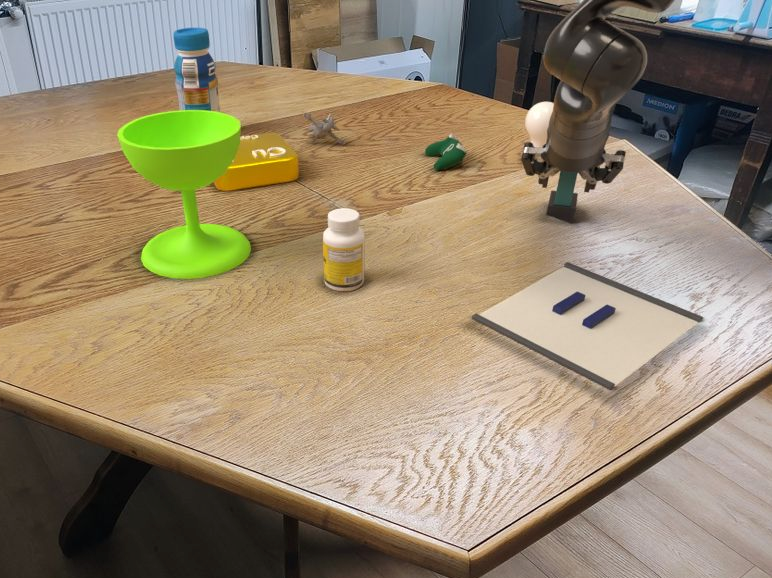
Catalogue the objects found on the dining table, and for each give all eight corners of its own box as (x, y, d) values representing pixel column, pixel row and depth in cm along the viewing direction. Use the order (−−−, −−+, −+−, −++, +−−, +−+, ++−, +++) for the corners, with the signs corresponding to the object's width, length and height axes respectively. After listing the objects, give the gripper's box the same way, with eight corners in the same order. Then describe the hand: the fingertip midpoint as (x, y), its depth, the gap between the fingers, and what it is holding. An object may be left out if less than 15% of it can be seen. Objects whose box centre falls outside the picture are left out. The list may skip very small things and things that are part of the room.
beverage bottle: (174, 134, 143) (159, 31, 131) (207, 125, 147) (196, 24, 135) (197, 144, 137) (184, 37, 126) (231, 134, 142) (221, 29, 130)
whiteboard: (565, 272, 92) (567, 261, 91) (699, 328, 80) (703, 316, 79) (470, 326, 82) (471, 315, 81) (607, 399, 70) (611, 387, 69)
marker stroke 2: (605, 309, 82) (606, 303, 81) (614, 313, 81) (616, 307, 81) (581, 325, 79) (583, 319, 79) (590, 329, 79) (592, 323, 78)
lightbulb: (553, 159, 125) (565, 97, 119) (555, 172, 120) (568, 108, 114) (518, 157, 127) (527, 96, 120) (518, 169, 122) (528, 107, 115)
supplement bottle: (332, 269, 94) (331, 203, 88) (369, 276, 92) (371, 208, 87) (317, 288, 90) (316, 220, 84) (356, 295, 88) (357, 226, 83)
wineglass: (273, 249, 99) (266, 125, 89) (185, 291, 90) (165, 159, 80) (205, 218, 109) (191, 103, 98) (119, 253, 100) (93, 130, 89)
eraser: (572, 223, 104) (583, 173, 99) (545, 220, 105) (554, 170, 100) (574, 208, 108) (585, 158, 103) (548, 205, 109) (557, 156, 105)
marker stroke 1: (575, 296, 84) (577, 291, 84) (584, 300, 84) (585, 294, 83) (551, 311, 82) (553, 305, 81) (560, 315, 81) (561, 309, 81)
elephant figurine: (340, 133, 141) (356, 130, 132) (325, 158, 141) (340, 156, 133) (301, 104, 137) (316, 98, 129) (286, 129, 137) (299, 126, 129)
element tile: (278, 153, 132) (277, 128, 129) (302, 180, 120) (301, 154, 118) (202, 163, 128) (199, 138, 126) (218, 193, 117) (215, 166, 114)
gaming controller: (446, 181, 123) (472, 157, 121) (433, 167, 121) (459, 142, 119) (435, 162, 130) (459, 140, 128) (422, 149, 129) (446, 126, 126)
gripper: (642, 109, 88) (620, 166, 104) (526, 100, 92) (522, 157, 108) (632, 163, 87) (611, 213, 103) (516, 152, 91) (513, 201, 107)
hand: (566, 184), depth 105 cm, fingers open, 5 cm apart
